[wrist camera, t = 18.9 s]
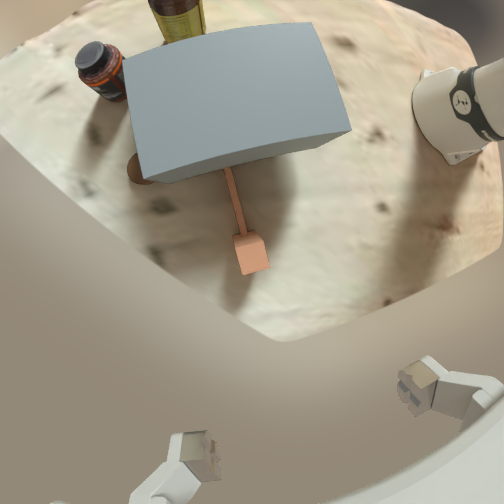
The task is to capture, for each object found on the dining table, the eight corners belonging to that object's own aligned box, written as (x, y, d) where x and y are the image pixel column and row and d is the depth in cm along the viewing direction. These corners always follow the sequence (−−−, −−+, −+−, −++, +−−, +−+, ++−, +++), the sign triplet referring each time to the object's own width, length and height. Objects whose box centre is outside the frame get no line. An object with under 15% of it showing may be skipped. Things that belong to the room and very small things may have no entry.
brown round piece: (160, 151, 34) (157, 148, 32) (163, 182, 35) (159, 181, 33) (131, 156, 33) (126, 154, 31) (133, 187, 34) (128, 186, 32)
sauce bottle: (179, 19, 29) (158, -65, 10) (214, 28, 30) (210, -62, 11) (157, 48, 30) (118, -34, 11) (192, 58, 31) (172, -32, 12)
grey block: (282, 77, 33) (311, 22, 18) (305, 153, 35) (351, 130, 21) (158, 106, 32) (122, 60, 17) (176, 185, 35) (143, 178, 20)
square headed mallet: (236, 162, 35) (240, 150, 26) (259, 251, 38) (270, 267, 29) (214, 167, 35) (211, 158, 26) (238, 256, 37) (242, 275, 29)
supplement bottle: (136, 63, 30) (110, 26, 19) (141, 93, 31) (113, 61, 20) (101, 78, 30) (68, 48, 19) (105, 109, 31) (68, 84, 20)
